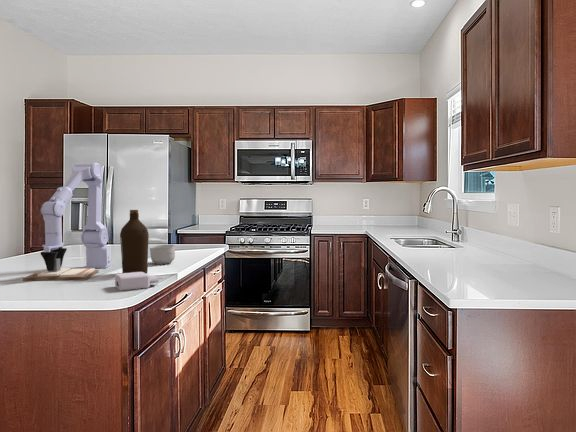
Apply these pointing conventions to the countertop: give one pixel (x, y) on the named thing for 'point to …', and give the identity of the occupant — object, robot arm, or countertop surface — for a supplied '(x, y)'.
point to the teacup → (162, 254)
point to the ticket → (77, 272)
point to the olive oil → (134, 245)
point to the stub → (56, 271)
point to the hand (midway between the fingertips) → (54, 268)
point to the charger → (134, 280)
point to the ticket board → (56, 277)
